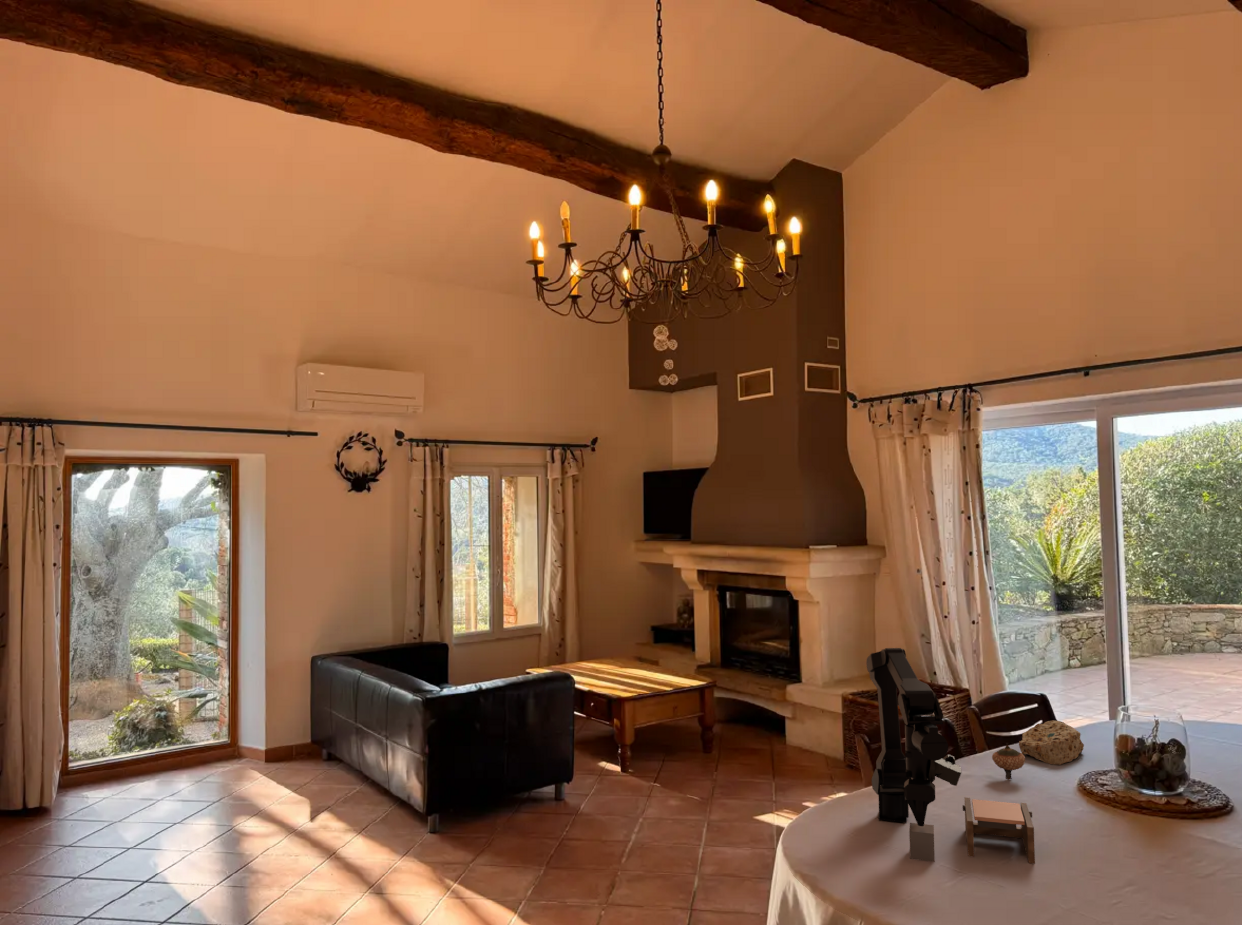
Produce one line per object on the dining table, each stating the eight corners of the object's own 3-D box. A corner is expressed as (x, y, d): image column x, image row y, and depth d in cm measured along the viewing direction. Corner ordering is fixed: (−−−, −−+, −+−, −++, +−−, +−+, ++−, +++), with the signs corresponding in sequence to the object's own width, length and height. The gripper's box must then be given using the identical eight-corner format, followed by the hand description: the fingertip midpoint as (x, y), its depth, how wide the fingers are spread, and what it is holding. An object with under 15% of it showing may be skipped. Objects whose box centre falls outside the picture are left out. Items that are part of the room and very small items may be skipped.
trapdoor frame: (965, 855, 188) (964, 820, 189) (962, 829, 203) (961, 797, 203) (1038, 864, 184) (1036, 827, 184) (1030, 836, 198) (1029, 803, 198)
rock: (1069, 771, 245) (1057, 736, 246) (1019, 772, 256) (1009, 738, 257) (1095, 748, 259) (1084, 714, 260) (1047, 749, 269) (1037, 717, 271)
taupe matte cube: (910, 859, 188) (909, 831, 188) (910, 849, 192) (909, 822, 192) (934, 861, 186) (933, 833, 186) (934, 852, 191) (933, 825, 191)
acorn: (1027, 777, 238) (1026, 740, 238) (1024, 786, 231) (1022, 748, 231) (995, 773, 242) (993, 737, 242) (990, 781, 235) (989, 744, 235)
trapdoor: (975, 840, 190) (974, 816, 190) (972, 821, 200) (972, 799, 200) (1025, 845, 186) (1024, 821, 186) (1020, 826, 197) (1019, 803, 197)
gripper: (959, 762, 178) (962, 838, 178) (957, 737, 196) (959, 806, 195) (903, 757, 182) (905, 832, 182) (905, 733, 200) (907, 801, 199)
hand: (921, 817), depth 189 cm, fingers open, 9 cm apart
